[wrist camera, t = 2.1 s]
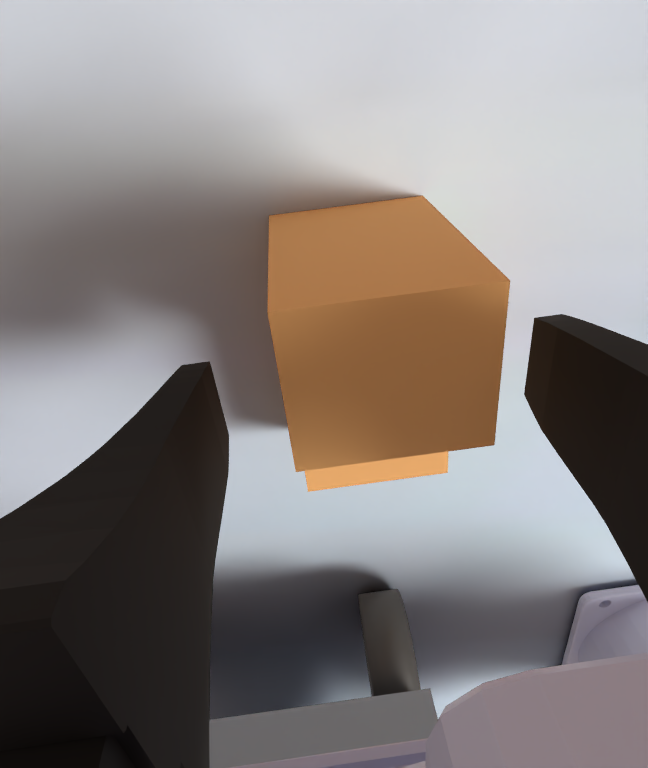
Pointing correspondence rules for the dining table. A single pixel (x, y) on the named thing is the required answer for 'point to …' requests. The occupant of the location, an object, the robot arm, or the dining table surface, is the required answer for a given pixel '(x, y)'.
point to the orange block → (383, 340)
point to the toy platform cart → (341, 703)
